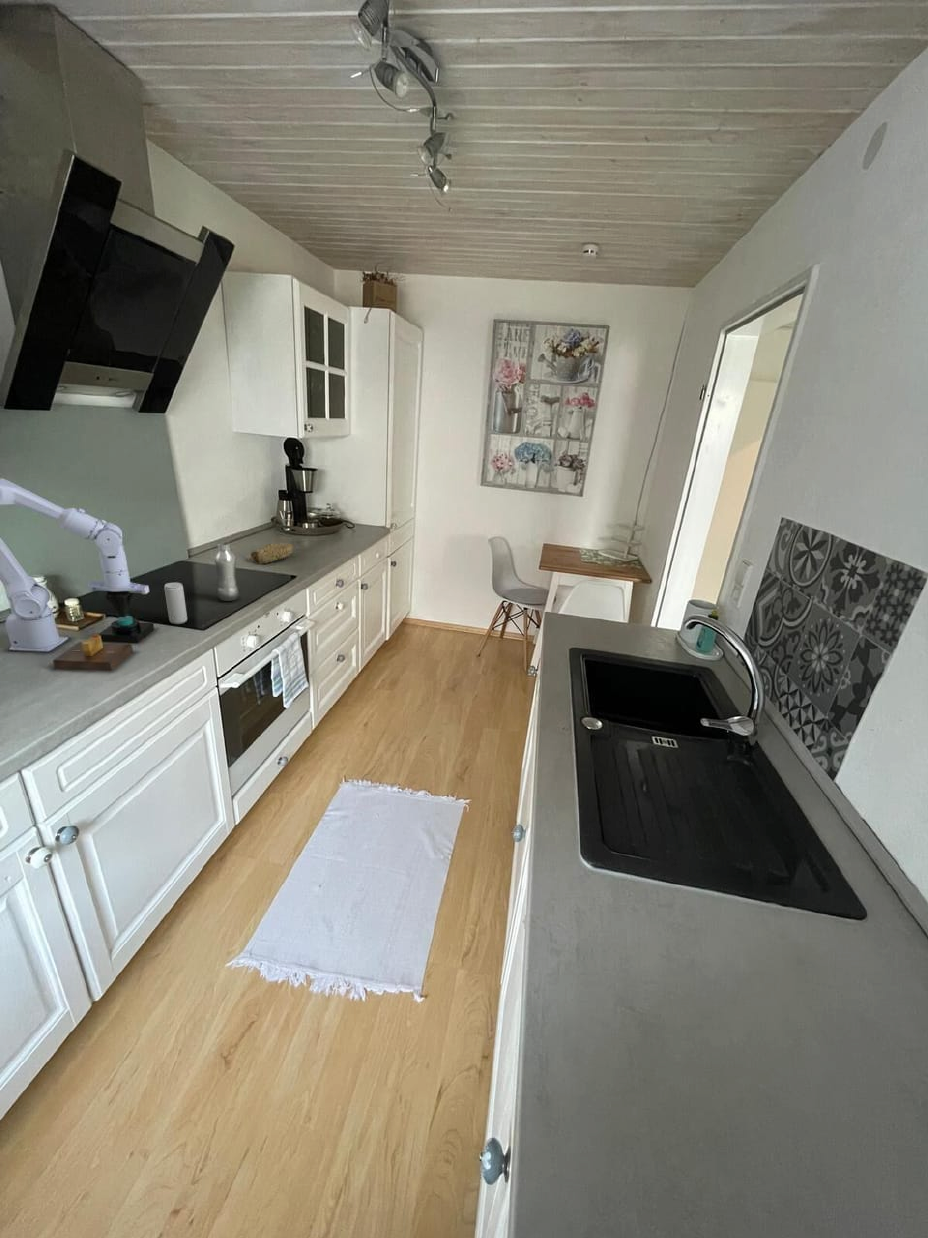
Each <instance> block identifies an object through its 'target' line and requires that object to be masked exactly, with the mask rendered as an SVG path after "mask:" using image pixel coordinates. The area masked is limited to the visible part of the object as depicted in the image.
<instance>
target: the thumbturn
mask: <svg viewBox="0 0 928 1238" xmlns="http://www.w3.org/2000/svg"><path fill="white" fill-rule="evenodd" d="M82 642H83V643H82V648H83V652H84V656H92V655H94V654H95V653H96V652H98V651H99V650H100V649H102V648H103V645H102V643H103V641H102V640H101V636H100V635H98V634H92V635H91V636H90V637H89V638H87V639H86V640H85V641H82Z"/></svg>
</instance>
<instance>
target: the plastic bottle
mask: <svg viewBox="0 0 928 1238" xmlns="http://www.w3.org/2000/svg"><path fill="white" fill-rule="evenodd" d="M217 550H218V551H217V553H216V554H215V556H214V563H215V567H216V573H217V579H218V581H217V582H218V583H217V585H218V586H217V596H218V598H219V600H220V601H223V602H232V601H236V600H237V599H238V597H239V594H240V593H239V591H240V590H239V588H238V584H237V577H236V564H237V559H236V556H235V554H234V553H233V552H232V551H231V543H230V542H227V541H226V542H225V541H222V542H218V543H217Z"/></svg>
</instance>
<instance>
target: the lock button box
mask: <svg viewBox="0 0 928 1238" xmlns="http://www.w3.org/2000/svg"><path fill="white" fill-rule="evenodd" d="M132 619H133V624H131V625H126V626H119V625H118V623H117V619H116V620H114V621H112V622H111V624H110V625H109V626H108V627H106V628H105V629H103V630H102V631H101V632H99V633H98V634H97V635H100V636H101V640H102V642H103V643H108V642H109V643H124V644H139V643H141V641H143V640H144V639H145V638H146V637H147V636H149V635H150V634H151V633H152V632H153V631H155V626H154V623H153V622H140V619H138V618H136V617H132Z"/></svg>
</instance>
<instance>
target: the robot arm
mask: <svg viewBox="0 0 928 1238" xmlns="http://www.w3.org/2000/svg"><path fill="white" fill-rule="evenodd" d="M5 505H7V506H8V505H18V506H21V507H23V508H26V509H29V510H30V511H33V512H35V513H38V514H41V515H43V516H46V517H47V518H50V519H53V520H55V521H57V522H58V524H59V526H60V528H61V529H64V530H65V531H68V532H70V533H73V534H75V535H77V536H80V537H81V538H84V539H86V540H88V541H93V542H94V544H95V545H96V546H97V548H98V552H99V553H98V557H99V561H100V566H101V571H102V576H103V580H104V581H91V582H89V583H88V584H87V589H88V592H95V591H96V592H97V591H98V592H106V594H105V595H104V598H105V599H106V600H107V601H108V602H109V603H110V604H111V606H112V607H114V609H115V611H116V613H117V614H118V617H126V616H130V615H129V613H130V605H131V601H132V599H133V596H134V594H141V595H147V594H149V593H150V588H149V585H148V584H142V583H141V584H140V583H135V582H131V578H130V573H129V567H128V562H127V557H126V552H125V547H124V544H123V531H122V529H121V528H120V527H119V526H118V525H115V523H113V522H107V521H106V520H104V519H98V518H96V517H94V516H92V515H90V514H88V513H86V510H85V509H82V508H80V507H79V508H78V509H77V508H75V507H69V508H63V507H61V506H59V505H57V504H55V503H53V502H51V501H49V500H47V499H45V498H43V497H41V496H39V495H37V494H36V493H34V492H31V491H29V490H28V489H25V488H23V487H21V486H20V485H18V484H16V483H14V482H12V481H10V480H8V479H5V478H3V477H0V506H5ZM0 582H1V583H2V585H3V586H4V590H5V595H6V597H7V599H8V600H9V602H10V609H11V611H12V613H11V614H10V615H8V617H7V618H6V619H5V631H6V633H7V637H8V639H9V643H10V647H9V651H21V652H22V651H23V652H40V653H41V652H44V653H48V652H51V651H52V650H54V649H56V648H57V647H59V646H60V645H62V644H63V643H65V642H67V641H68V640H69V637H68V636H59V631H58V626H57V623H56V619H55V616H54V612H53V609H52V608H51V607H50V606H49V605H48V603H49V601H50V600H51V593H50V591H49V590H48V589H47V588H46V587H44V586H43V585H40V584H39V583H38V582H37V581H36V579H35V578H34V577H32V576H30V575H29V574H28V573H27V572H26V571H25V569H24V568H23V566H22V565H21V564H20V562H19V561H18V559H17V558H16V557H15V555H14V554H13V553H12V551H11V550H10V548H9V547H8V545H7V544H6V543H5V541H4V539H2V537H1V536H0Z"/></svg>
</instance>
